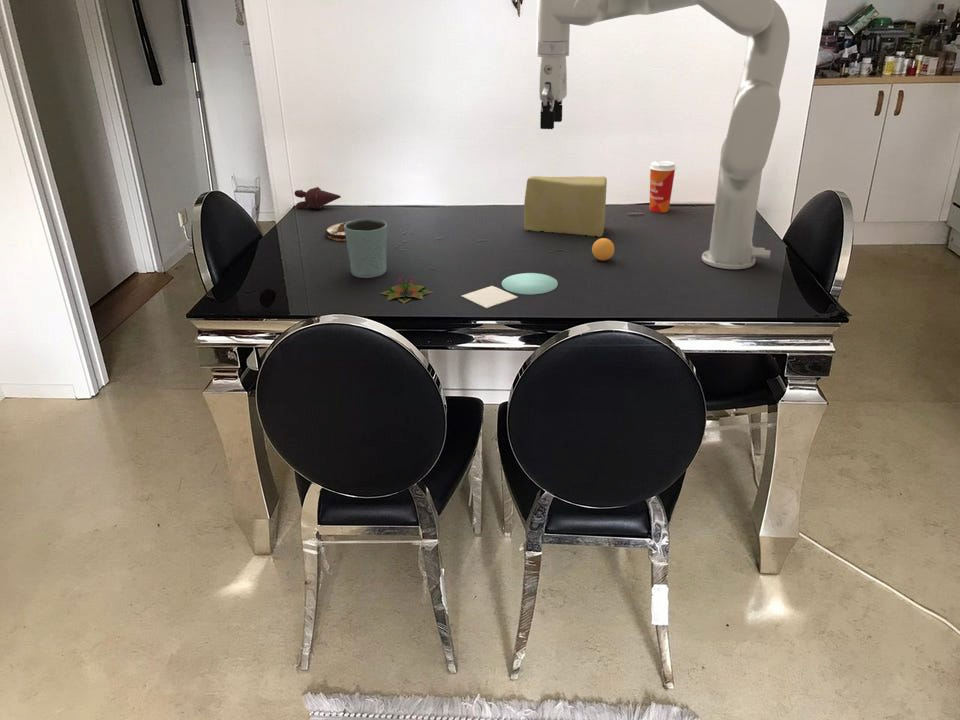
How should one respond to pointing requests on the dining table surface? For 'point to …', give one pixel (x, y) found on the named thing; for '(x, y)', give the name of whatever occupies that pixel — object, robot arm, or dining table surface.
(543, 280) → the disc
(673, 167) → the paper cup
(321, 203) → the icecream
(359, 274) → the green ceramic cup
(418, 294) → the lily flower
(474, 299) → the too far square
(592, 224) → the cheese
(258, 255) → the dining table surface
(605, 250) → the ball
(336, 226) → the golden round pastry
